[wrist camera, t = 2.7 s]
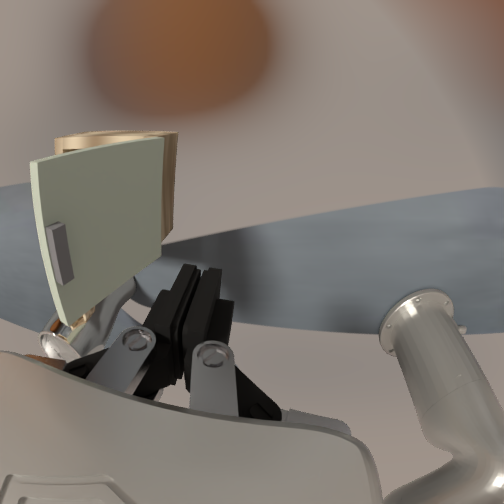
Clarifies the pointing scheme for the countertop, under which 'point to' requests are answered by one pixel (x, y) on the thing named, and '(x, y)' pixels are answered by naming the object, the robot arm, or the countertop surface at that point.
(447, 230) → the countertop surface
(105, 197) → the box lid
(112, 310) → the beer glass
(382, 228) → the countertop surface
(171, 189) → the light wooden box
